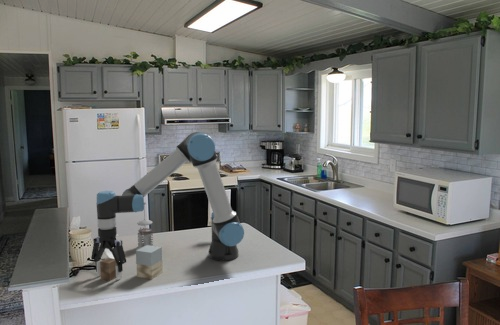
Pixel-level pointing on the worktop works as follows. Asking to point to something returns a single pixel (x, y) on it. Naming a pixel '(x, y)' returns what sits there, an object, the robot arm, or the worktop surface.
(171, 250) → the worktop surface
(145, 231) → the french press
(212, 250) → the robot arm
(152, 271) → the beech block
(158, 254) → the grey block
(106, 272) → the walnut block
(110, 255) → the white curved piece
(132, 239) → the worktop surface
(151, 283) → the worktop surface
